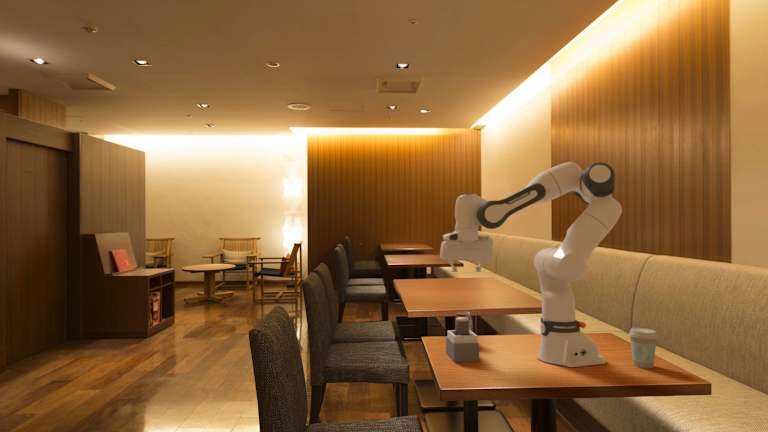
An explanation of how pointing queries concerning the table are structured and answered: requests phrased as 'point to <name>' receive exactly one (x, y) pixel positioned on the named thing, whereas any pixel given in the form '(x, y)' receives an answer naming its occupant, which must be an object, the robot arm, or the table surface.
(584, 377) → the table surface
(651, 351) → the coffee cup
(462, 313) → the soda can
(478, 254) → the robot arm
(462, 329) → the lens
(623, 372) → the table surface
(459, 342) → the camera body
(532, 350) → the table surface
